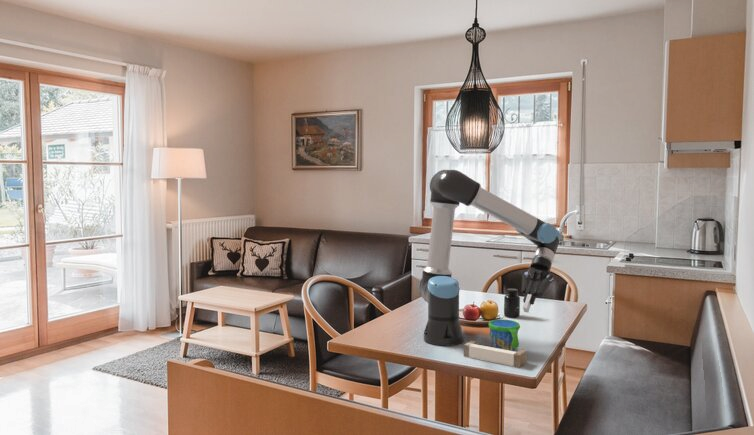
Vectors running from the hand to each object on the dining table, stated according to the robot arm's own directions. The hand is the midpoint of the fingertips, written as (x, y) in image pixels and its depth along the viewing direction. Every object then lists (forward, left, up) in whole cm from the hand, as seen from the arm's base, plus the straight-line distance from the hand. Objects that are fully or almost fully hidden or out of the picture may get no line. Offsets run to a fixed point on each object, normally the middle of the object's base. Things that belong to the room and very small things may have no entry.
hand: (525, 310), depth 208 cm
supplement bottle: (-17, +30, -11) cm, 37 cm away
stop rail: (0, -28, -11) cm, 30 cm away
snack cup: (-1, -18, -12) cm, 21 cm away
